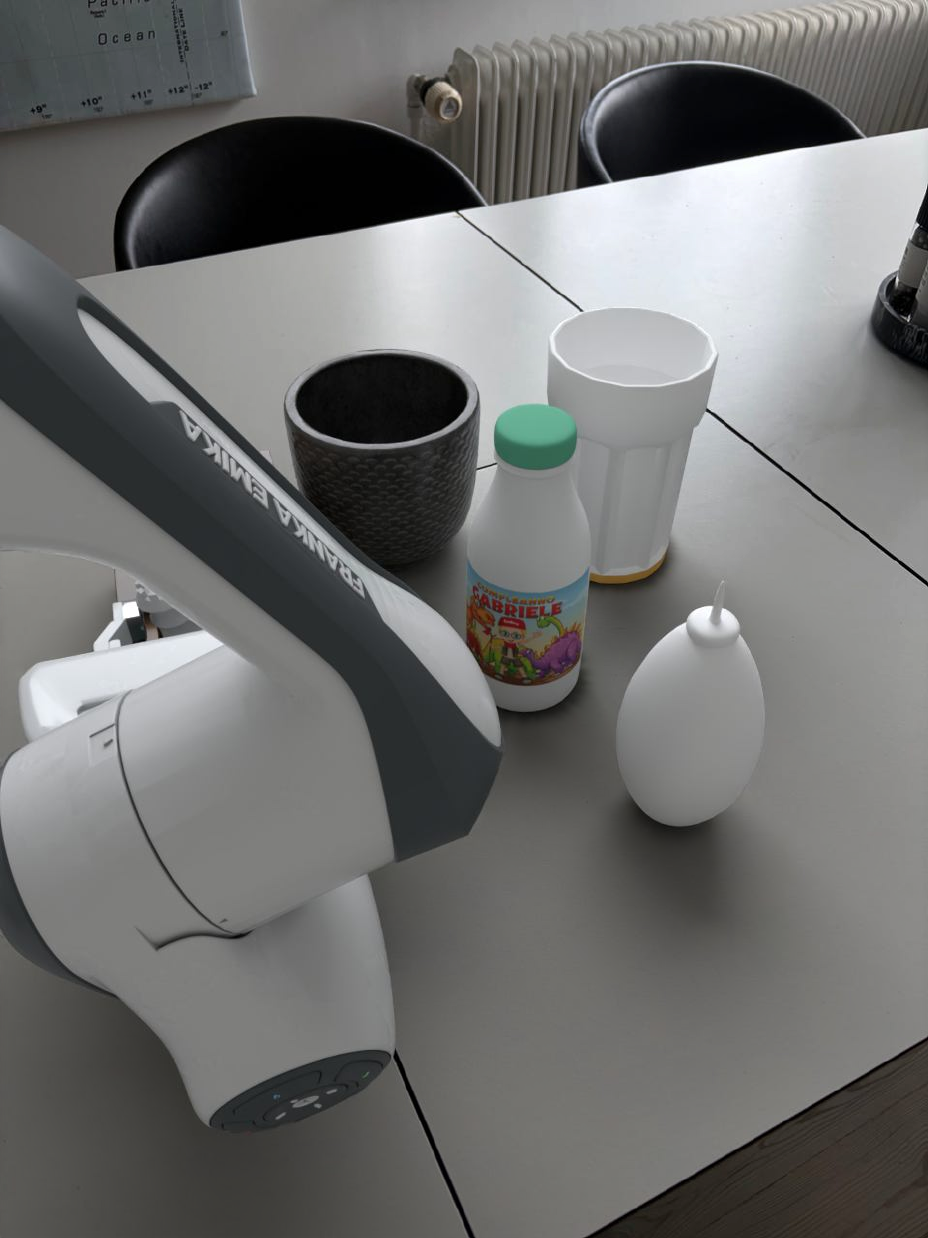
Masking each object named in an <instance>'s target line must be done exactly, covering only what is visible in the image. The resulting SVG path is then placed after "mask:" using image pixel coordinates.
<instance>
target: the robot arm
mask: <svg viewBox="0 0 928 1238" xmlns="http://www.w3.org/2000/svg"><path fill="white" fill-rule="evenodd" d="M259 451H260V450H258V449H257V448H256V447H255V446H254V445H253V444H252V443H251V442H250V441H249V440H248V439H247V438H246V437H245V436H244V435H243V434H241V432H240V431H238V430H237V429H236V428H235V427H234V426H233V424H232V423H230V421H228V420H227V419H226V418H225V417H224V416H223V415H222V414H221V413H220V412H219V411H218V410H216V408H215V407H214V406H213V405H212V404H211V403H209V402H208V401H207V399H206V398H205V397H204V396H203V395H201V394H200V393H199V391H198V390H196V389H195V388H194V386H192V385H191V384H190V383H189V381H187V380H186V379H185V378H184V377H183V376H182V375H181V374H180V373H179V372H178V371H177V370H175V368H174V367H172V365H171V364H169V363H168V362H167V360H165V359H164V358H163V357H162V356H161V355H159V353H158V352H156V350H154V349H153V348H152V347H151V346H150V345H149V344H148V343H147V342H146V341H145V340H143V338H141V337H140V336H139V335H138V334H137V333H136V332H135V331H134V330H132V328H131V327H129V326H128V324H126V323H125V322H124V321H122V319H120V318H119V316H117V315H116V314H115V313H114V312H113V311H112V310H110V309H109V308H108V307H107V306H106V305H105V304H104V303H103V302H101V301H100V300H99V299H98V298H97V297H96V296H95V295H93V294H92V293H91V291H89V290H88V289H87V288H86V287H84V286H83V284H81V283H80V282H79V281H77V279H75V278H74V277H73V276H71V274H70V273H68V272H67V271H66V270H65V269H63V268H62V267H61V266H59V264H57V263H55V262H54V261H53V260H52V259H50V258H49V257H48V256H46V255H45V254H44V253H43V252H41V251H40V250H38V249H37V248H36V247H34V246H33V245H32V244H31V243H29V241H27V240H25V239H24V238H22V237H21V236H19V235H18V234H16V233H14V232H13V231H11V230H10V229H9V228H7V227H5V226H4V225H2V224H1V223H0V552H22V553H23V552H24V553H40V554H52V555H58V556H64V557H66V556H67V557H73V558H77V559H81V560H84V561H88V562H93V563H97V564H100V565H102V566H105V567H108V568H110V569H113V570H114V569H115V570H117V571H119V572H122V573H124V574H126V575H128V576H129V577H131V578H132V579H134V580H135V581H137V582H139V583H140V584H141V585H143V586H144V587H146V588H147V589H148V590H150V591H151V592H153V593H154V594H155V595H157V596H158V597H159V598H161V599H162V600H164V601H165V602H166V603H168V604H169V605H170V606H172V607H173V608H175V609H176V610H177V611H179V612H180V613H181V614H183V615H184V616H186V617H187V618H188V619H190V620H191V621H192V622H194V623H195V624H197V625H198V626H199V627H201V628H202V629H203V630H201V631H196V632H191V633H186V634H181V635H176V636H171V637H166V638H161V639H156V640H151V641H146V642H141V643H136V644H132V643H133V642H134V641H138V640H143V639H147V631H146V627H145V626H146V622H145V617H144V613H143V611H142V610H141V609H140V608H139V607H138V606H137V605H136V600H135V599H134V600H128V601H122V602H117V601H116V602H113V603H112V605H111V606H112V619H113V620H112V621H110V622H109V623H108V624H107V626H106V627H105V629H104V630H102V632H101V634H100V635H98V637H97V638H96V640H95V641H94V642H93V644H92V645H93V651H91V652H86V653H80V654H75V655H71V656H66V657H62V658H55V659H51V660H50V659H49V660H44V661H40V662H37V663H35V664H33V666H31V667H30V668H29V669H28V670H27V671H26V672H25V673H24V674H23V675H22V676H21V677H20V678H19V680H18V683H17V684H18V685H17V697H18V709H19V716H20V721H21V722H20V723H21V726H22V731H23V732H24V733H23V734H24V737H25V740H26V742H27V744H26V745H24V746H23V747H19V748H16V749H15V750H13V751H12V752H11V753H10V754H9V755H8V756H7V757H6V758H5V760H4V762H3V764H2V765H1V768H0V931H1V933H2V935H3V936H4V938H5V940H6V941H7V943H9V945H10V946H11V947H12V948H13V949H14V950H15V951H16V952H17V953H18V954H20V956H21V957H23V958H24V959H26V960H28V961H29V962H31V963H32V964H34V965H35V966H37V967H38V968H40V969H42V970H43V971H45V972H47V973H50V974H51V975H54V976H57V977H59V978H61V979H63V980H65V981H68V982H70V983H72V984H75V985H78V986H79V987H82V988H85V989H88V990H90V991H93V992H95V993H98V994H101V995H104V996H106V997H110V998H112V999H115V1000H118V1001H120V1002H123V1003H124V1005H126V1006H127V1007H128V1008H129V1009H130V1011H132V1012H133V1013H135V1014H136V1016H137V1017H138V1018H139V1019H141V1021H143V1022H144V1023H145V1024H146V1025H147V1026H148V1027H149V1028H150V1030H152V1032H153V1033H154V1034H155V1035H156V1036H157V1037H158V1039H159V1040H160V1041H161V1042H162V1044H163V1045H164V1046H165V1048H166V1049H167V1050H168V1052H169V1054H170V1055H171V1058H172V1059H173V1061H174V1063H175V1065H176V1067H177V1070H178V1072H179V1075H180V1078H181V1079H182V1082H183V1085H184V1088H185V1091H186V1092H187V1096H188V1098H189V1101H190V1103H191V1106H192V1108H193V1110H194V1113H195V1115H196V1116H197V1117H198V1119H199V1120H200V1121H201V1122H202V1123H203V1124H204V1125H206V1126H207V1127H209V1128H210V1129H213V1130H216V1131H220V1132H227V1133H230V1134H235V1135H236V1134H237V1135H238V1134H242V1135H243V1134H254V1133H261V1132H267V1131H272V1130H275V1129H278V1128H279V1127H282V1126H286V1125H288V1124H292V1123H294V1124H295V1123H299V1122H301V1121H303V1120H305V1119H308V1118H311V1117H312V1116H315V1115H317V1114H320V1113H322V1112H324V1111H326V1110H328V1109H330V1108H332V1107H334V1106H336V1105H338V1104H340V1103H342V1102H344V1101H345V1100H348V1099H349V1098H351V1097H353V1096H355V1095H356V1094H357V1095H358V1094H359V1093H361V1092H362V1091H363V1090H365V1089H366V1088H368V1087H369V1086H370V1085H371V1083H372V1082H373V1081H374V1080H376V1079H378V1077H379V1076H380V1075H381V1074H382V1072H384V1070H385V1069H386V1068H387V1067H388V1066H389V1064H390V1063H391V1061H392V1059H393V1058H394V1055H395V1051H396V1019H395V1005H394V997H393V996H394V995H393V987H392V980H391V973H390V967H389V961H388V960H389V959H388V955H387V949H386V943H385V939H384V933H383V929H382V924H381V920H380V915H379V911H378V907H377V902H376V899H375V895H374V891H373V887H372V883H371V880H370V877H369V873H371V872H373V871H376V870H378V869H380V868H382V867H384V866H386V865H388V864H390V863H392V862H393V863H394V865H396V864H399V863H401V862H404V861H406V860H409V859H411V858H414V857H417V856H419V855H421V854H424V853H427V852H429V851H432V850H434V849H437V848H439V847H443V846H445V845H447V844H450V843H452V842H455V841H457V840H460V839H463V838H465V837H468V836H469V835H470V833H471V831H472V829H473V828H474V827H475V826H474V825H475V824H476V822H477V820H478V818H479V816H480V814H481V813H482V811H483V809H484V806H485V805H486V802H487V800H488V798H489V796H490V793H491V791H492V788H493V786H494V784H495V781H496V778H497V777H498V773H499V770H500V767H501V764H502V761H503V757H504V754H505V750H506V749H505V748H506V745H505V739H504V735H503V732H502V729H501V724H500V723H501V722H500V718H499V713H498V709H497V706H496V705H495V702H494V699H493V696H492V693H491V691H490V688H489V686H488V683H487V681H486V679H485V677H484V675H483V673H482V671H481V669H480V667H479V665H478V663H477V661H476V660H475V658H474V656H473V654H472V653H471V651H470V650H469V648H468V647H467V646H466V642H465V641H464V640H463V638H462V637H461V636H460V635H459V634H458V632H457V631H456V630H455V629H454V628H453V626H452V625H451V624H450V622H448V621H447V620H446V619H445V618H444V617H443V616H442V615H441V614H439V613H438V612H437V611H436V610H435V609H433V608H432V607H431V606H430V605H428V604H427V602H426V601H425V600H424V599H423V598H422V596H420V595H419V594H418V593H417V592H416V591H415V590H414V589H413V588H411V587H410V586H409V585H408V584H406V582H404V581H402V580H401V579H400V578H398V577H397V576H395V575H394V574H393V573H391V572H389V570H385V569H383V568H382V567H380V566H379V565H378V564H376V563H375V562H374V561H372V560H371V559H370V558H369V557H367V556H366V555H365V554H364V553H363V552H362V551H361V550H359V549H358V548H357V547H356V546H355V545H354V544H353V543H352V542H351V541H350V540H348V539H347V538H346V537H345V536H344V535H343V534H342V533H341V532H340V531H339V530H338V529H337V528H336V527H335V526H334V525H333V524H332V523H331V522H330V521H329V520H328V519H327V518H326V517H325V516H324V515H323V514H322V513H321V512H320V511H319V510H318V509H317V508H316V507H315V506H314V505H313V504H312V503H311V502H310V501H309V500H308V499H307V498H306V497H305V496H304V495H303V494H302V493H300V492H299V489H297V487H296V486H294V484H292V483H291V482H290V481H289V480H288V479H287V478H286V477H285V476H284V475H283V474H282V473H281V471H280V470H278V469H277V467H275V465H274V466H273V465H272V464H271V463H270V462H269V461H268V460H267V459H266V458H265V457H264V456H263V455H262V454H261V453H260V452H259Z"/></svg>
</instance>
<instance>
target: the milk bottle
mask: <svg viewBox="0 0 928 1238" xmlns="http://www.w3.org/2000/svg"><path fill="white" fill-rule="evenodd" d="M576 442H577V427H576V423H575V421H574V419H573V418H572V417H571V416H570V415H569V414H568V413H566V412H565V411H563V410H561V409H559V408H556V407H553V406H549V405H548V404H544V403H543V404H542V403H526V404H520V405H516V406H513V407H510V408H508V409H506V410H505V411H503V412H502V413H501V414H499V416H498V417H497V419H496V421H495V424H494V430H493V448H494V449H493V459H494V461H495V463H496V465H497V466H496V469H495V474H494V476H493V478H492V481H491V483H490V485H489V487H488V489H487V491H486V492H485V494H484V495H483V497H482V499H481V501H480V502H479V504H478V506H477V508H476V510H475V512H474V515H473V517H472V521H471V525H470V527H469V533H468V540H467V550H466V551H467V553H466V586H465V588H466V589H465V590H466V591H465V593H466V594H465V595H466V596H465V619H466V620H465V640H466V641H465V644H466V646H467V647H468V648H469V650H470V651H471V653H472V654H473V656H474V658H475V660H476V661H477V663H478V665H479V667H480V669H481V671H482V673H483V675H484V677H485V679H486V681H487V683H488V686H489V688H490V691H491V693H492V696H493V699H494V702H495V705H496V707H498V708H500V709H502V710H508V711H511V712H521V713H526V712H537V711H543V710H546V709H548V708H551V707H553V706H555V705H557V704H559V703H560V702H562V701H563V700H564V699H566V697H567V696H569V695H570V693H571V692H572V691H573V690H574V688H575V687H576V684H577V682H578V679H579V674H580V668H581V662H582V652H583V645H584V634H585V626H586V619H587V618H586V617H587V608H588V599H589V597H588V596H589V586H590V580H589V578H590V564H591V534H590V528H589V523H588V520H587V516H586V513H585V511H584V508H583V506H582V504H581V502H580V500H579V497H578V495H577V493H576V490H575V488H574V485H573V482H572V477H571V473H570V467H571V466H572V464H573V463H574V460H575V449H576Z"/></svg>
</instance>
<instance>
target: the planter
mask: <svg viewBox="0 0 928 1238" xmlns="http://www.w3.org/2000/svg"><path fill="white" fill-rule="evenodd" d="M283 416H284V424H285V429H286V436H287V441H288V446H289V452H290V456H291V457H290V458H291V461H292V466H293V470H294V475H295V480H296V485H297V488H298V491H299V492H300V493H302V494H303V495H304V496H305V497H306V498H307V499H308V500H309V501H310V502H311V503H312V504H313V505H314V506H315V507H316V508H317V509H318V510H319V511H320V512H321V513H322V514H323V515H324V516H325V517H326V518H327V519H328V520H329V521H330V522H331V523H332V524H333V525H334V526H335V527H336V528H337V529H338V530H339V531H340V532H341V533H342V534H343V535H344V536H345V537H346V538H347V539H348V540H350V541H351V542H352V543H353V544H354V545H355V546H356V547H357V548H358V549H359V550H361V551H362V552H363V553H364V554H365V555H366V556H367V557H369V558H370V559H371V560H372V561H374V562H375V563H376V564H378V565H379V566H380V567H382V568H383V569H385V570H386V571H390V570H401V569H406V568H410V567H413V566H416V565H418V564H420V563H422V562H424V561H426V560H427V559H429V558H430V557H432V555H434V554H435V553H437V552H438V551H440V550H441V549H443V548H445V546H447V545H448V544H449V543H450V542H451V541H452V540H453V539H454V538H456V536H457V535H458V533H459V532H460V531H461V529H462V528H463V526H464V524H465V523H466V520H467V518H468V515H469V512H470V509H471V505H472V501H473V496H474V492H475V486H476V479H477V469H478V458H479V445H480V431H481V430H480V427H481V398H480V392H479V389H478V386H477V384H476V382H475V381H474V379H473V378H472V377H471V376H470V374H468V373H467V372H466V371H465V370H464V369H462V367H459V365H457V364H455V363H453V362H451V361H449V360H448V359H445V358H442V357H440V356H436V355H434V354H430V353H426V352H423V351H422V352H421V351H417V350H409V349H398V348H375V349H364V350H359V351H352V352H347V353H343V354H339V355H336V356H333V357H330V358H328V359H325V360H322V361H321V362H319V363H316V364H314V365H313V366H311V367H309V368H308V369H307V370H306V369H305V371H303V372H302V373H301V374H300V375H299V376H298V377H296V378H295V379H294V380H293V382H292V383H291V384H290V385H289V386H288V389H287V390H286V393H285V394H284V400H283Z"/></svg>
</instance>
